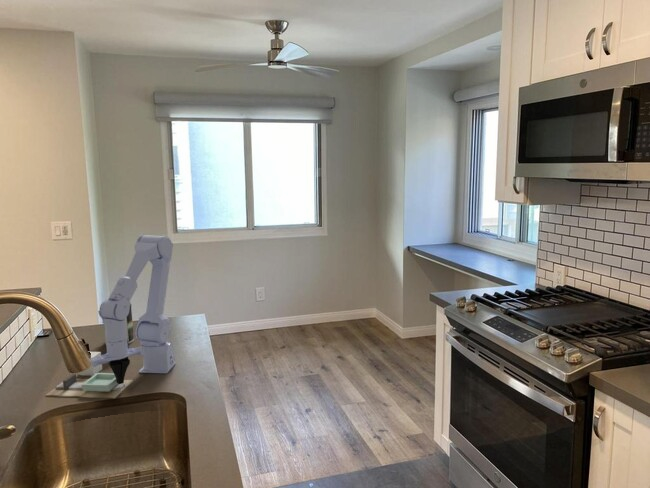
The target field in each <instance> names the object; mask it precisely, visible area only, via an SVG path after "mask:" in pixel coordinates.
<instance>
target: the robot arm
mask: <svg viewBox="0 0 650 488" xmlns="http://www.w3.org/2000/svg"><path fill="white" fill-rule="evenodd" d="M173 247H174V243H173V242H172V240H171V239H170V236H169V235H152V234H151V235H149V234H141V235H139V236H138V237H137V239H136V242H135V243H134V250H135V253H134V255H133V257H132V260H131V262H130V264H129V266H128V269H127V270H126V274H125V275H124V276H121V277H120V278H118V280H117V282H116V284H115V285H114V287H113V289H112V291H111V293H110V295H109V296H108V298H107V299H105V300H104V301H102V303H101V304H100V306H99V310H98V316H99V318H101V320H102V324H103V326H104V325H105V332H104V335H105V334H106V344H105V345H106V353H104V354H101V356H99V357H96V358H93V359H91V365H92V366H93V367H96V366H97V365H101V364H102V365H103V364H104V365H105V364H107V365H109V366H108V367H110V369H111V370H112V373H114V375H115V377H116V381H117V383H118V384H122V383H124V380H125V376H126V372H127V370H128V368H129V366H130V363H131V361H130V360H131V359H130V358H131V357H135V356H139V355H140V356H142V360H143V361H142V363H143V367H141V369H139V370H138V373H140V374H142V373H143V374H168V373H169V372H170V371H171V370H172V368H174V366H175V365H176V361H175V360H176V359H175V348H174V347H175V346H174V344H173V343H172V342H168V340H169V338H170V337H171V336H170V335H171V327H170V322H171V321H170V319H169V318H168V317H167V316H166V315H165V314H164V312H165V302H166V295H167V288H168V280H169V274H170V273H169V272H170V267H171V266H170V265H171V261H172V255H173ZM148 262H150V263H151V265H152V266H151V267H152V268H151V275H150V281H149V287H148V288H149V291H148V296H147V302H146V303H147V304H146V312H145V313H144V314H142V315H141V316H139V318H138V323H137V324H136V325H137V326H136V327H135V331H134V333H135V335H134V336H135V337H136V339H137V340H138V341H139V344H141V346H137V347H132V348H131V347H130V348H129V344H127V332H126V320H125V318H126V317H127V315H128V314H129V310H130V303H131V299H132V298H133V296H134V294H135V292H136V291H137V288H138V283H137V280H138V278H139V277H140V275H141V274H142V272H143V271H144V269H145V268H146V266H147V264H148ZM131 304H132V303H131ZM128 348H129V349H128Z"/></svg>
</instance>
